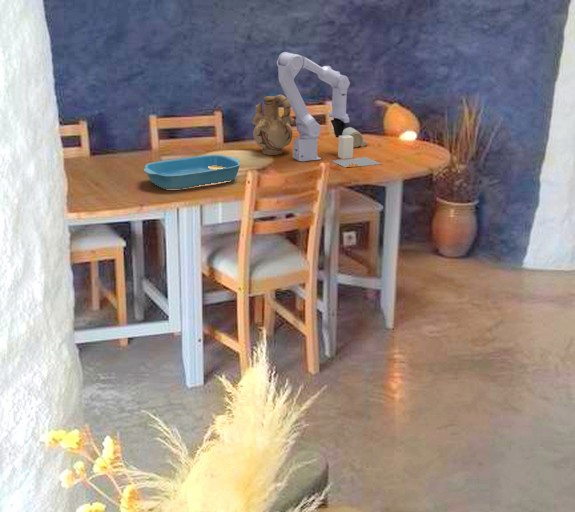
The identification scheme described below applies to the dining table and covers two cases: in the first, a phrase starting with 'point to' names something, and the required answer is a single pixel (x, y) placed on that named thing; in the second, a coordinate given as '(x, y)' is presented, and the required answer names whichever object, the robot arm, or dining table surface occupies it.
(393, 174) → the dining table surface
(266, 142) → the ceramic vessel
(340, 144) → the off-white block
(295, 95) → the robot arm
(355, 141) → the ceramic mug
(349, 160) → the slate mat
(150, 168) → the casserole dish
